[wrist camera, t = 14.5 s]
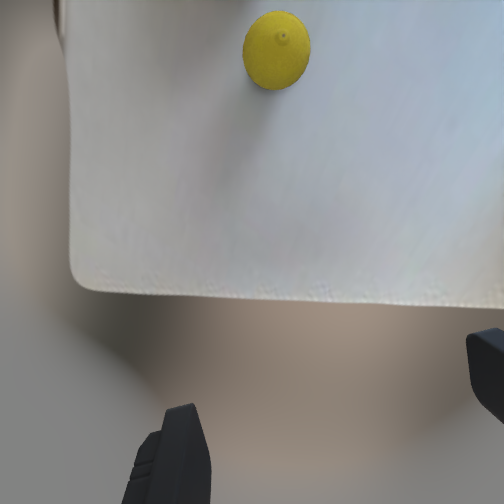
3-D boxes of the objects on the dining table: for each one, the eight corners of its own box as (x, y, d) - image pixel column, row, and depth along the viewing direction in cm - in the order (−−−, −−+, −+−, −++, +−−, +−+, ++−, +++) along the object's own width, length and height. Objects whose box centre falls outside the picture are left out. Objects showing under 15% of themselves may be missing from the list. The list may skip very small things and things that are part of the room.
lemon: (277, 110, 36) (291, 92, 28) (229, 73, 35) (230, 44, 27) (311, 59, 35) (336, 26, 27) (263, 20, 34) (274, -26, 26)
